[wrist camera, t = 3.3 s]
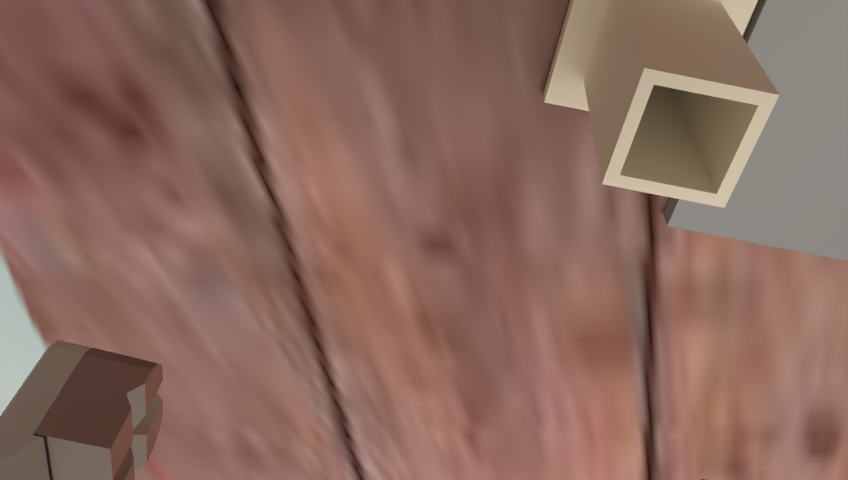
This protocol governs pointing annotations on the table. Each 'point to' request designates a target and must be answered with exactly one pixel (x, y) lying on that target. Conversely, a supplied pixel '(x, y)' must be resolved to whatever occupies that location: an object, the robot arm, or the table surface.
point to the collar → (664, 92)
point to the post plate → (791, 138)
